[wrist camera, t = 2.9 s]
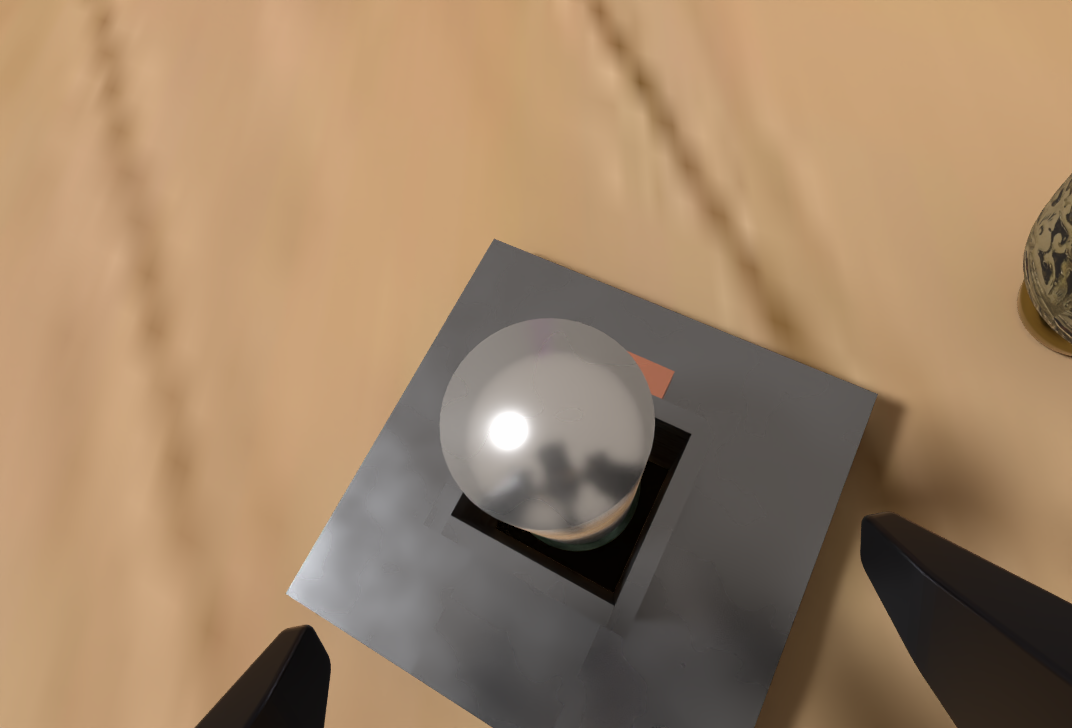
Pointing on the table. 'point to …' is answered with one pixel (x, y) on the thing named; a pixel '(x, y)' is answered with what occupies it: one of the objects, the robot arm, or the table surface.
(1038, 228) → the cup
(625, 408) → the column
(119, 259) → the table surface
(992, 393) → the table surface
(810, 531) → the stand
